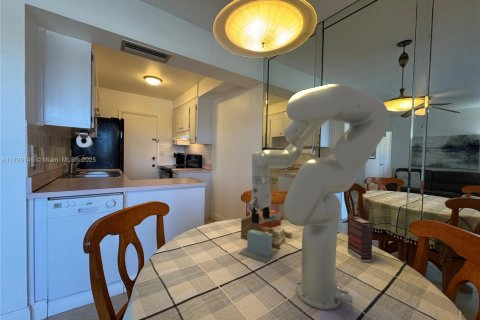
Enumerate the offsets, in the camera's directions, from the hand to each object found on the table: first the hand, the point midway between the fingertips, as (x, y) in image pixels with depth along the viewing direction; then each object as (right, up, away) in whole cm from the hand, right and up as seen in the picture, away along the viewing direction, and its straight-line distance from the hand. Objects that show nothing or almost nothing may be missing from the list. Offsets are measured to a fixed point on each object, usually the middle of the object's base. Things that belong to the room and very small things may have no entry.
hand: (261, 220), depth 85 cm
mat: (-1, -14, +1) cm, 14 cm away
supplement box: (+41, -15, -1) cm, 44 cm away
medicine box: (+8, -15, +36) cm, 40 cm away
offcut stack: (+10, -15, +13) cm, 22 cm away
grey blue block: (-1, -14, +1) cm, 14 cm away
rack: (+4, -14, +17) cm, 23 cm away
